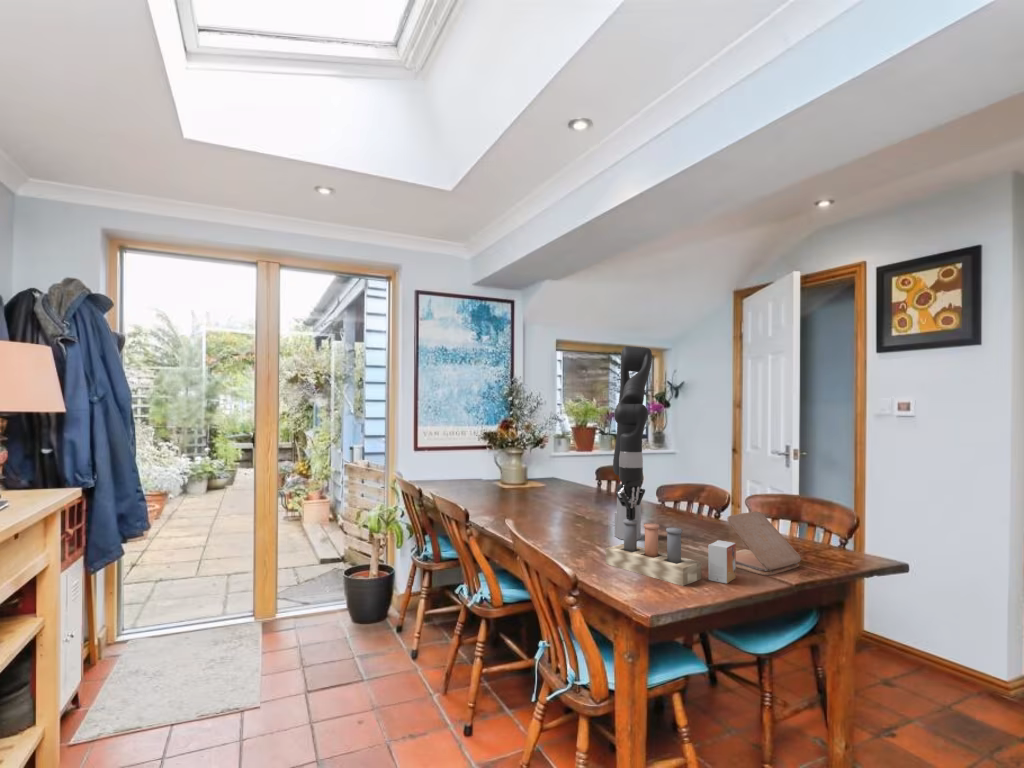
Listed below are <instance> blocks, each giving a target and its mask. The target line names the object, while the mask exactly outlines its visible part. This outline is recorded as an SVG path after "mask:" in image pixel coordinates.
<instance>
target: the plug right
mask: <svg viewBox="0 0 1024 768" xmlns="http://www.w3.org/2000/svg"><path fill="white" fill-rule="evenodd" d="M665 532H666V534H667V535H666V546H667V547H666V550H667V552H666V554H667V562H671V563H675V564H678V563H681V557H682V534H683V529H682V528H678V527H666V529H665Z"/></svg>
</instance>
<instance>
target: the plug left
mask: <svg viewBox="0 0 1024 768" xmlns="http://www.w3.org/2000/svg"><path fill="white" fill-rule="evenodd" d="M623 523H624V540H623V544H624V551H628V552H636V551H637V547H638V546H637V545H638V544H637V543H638V540H637V524H638V520H628V519H624V520H623Z"/></svg>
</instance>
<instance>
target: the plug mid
mask: <svg viewBox="0 0 1024 768" xmlns="http://www.w3.org/2000/svg"><path fill="white" fill-rule="evenodd" d="M643 527H644V548H645V556H648V557H652V558H655V557H658V552H659V528H660V524H658V523H653V522H652V523H650V522H646V523H643Z"/></svg>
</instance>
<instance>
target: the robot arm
mask: <svg viewBox="0 0 1024 768" xmlns="http://www.w3.org/2000/svg"><path fill="white" fill-rule="evenodd" d="M620 355H621V356H620V382H619V383H620V385H619V386H620V387H619V398H618V403H617V405H616V407H615V409H614V413H613V415H614V420H615V422H616V424H617V425H616V437H615V438H616V439H615V446H614V452H613V459H612V469H613V474H614V475H616V476H618V479H619V480H620V481H621V483H620V484H619V485H617V486H616V492H615V495H616V511H614V537H616V538H617V539H620V540H623V541H624V523H623V520H624V519H628V520H638V524H637V541H639V540H641V538H642V523H641V522H642V513H641V512H642V500H643V498H644V495H645V493H646V489H644V488H642V481H643V479H644V476H643V475H644V470H643V469H644V464H643V463H644V459H643V435H644V430H645V427H646V424H647V420H648V416H649V412H648V411H649V410H648V408H647V406H645V405H644V404H643V403H644V401H645V399H644V398H645V390H646V385H647V382H648V379H649V375H650V372H651V368H652V361H653V353H652V350H651V348H649V347H643V346H642V347H641V346H632V345H631V346H624V347H623V348H622V350H621V354H620ZM630 372H634V373H635V374H634V375H633V376H630Z"/></svg>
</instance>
